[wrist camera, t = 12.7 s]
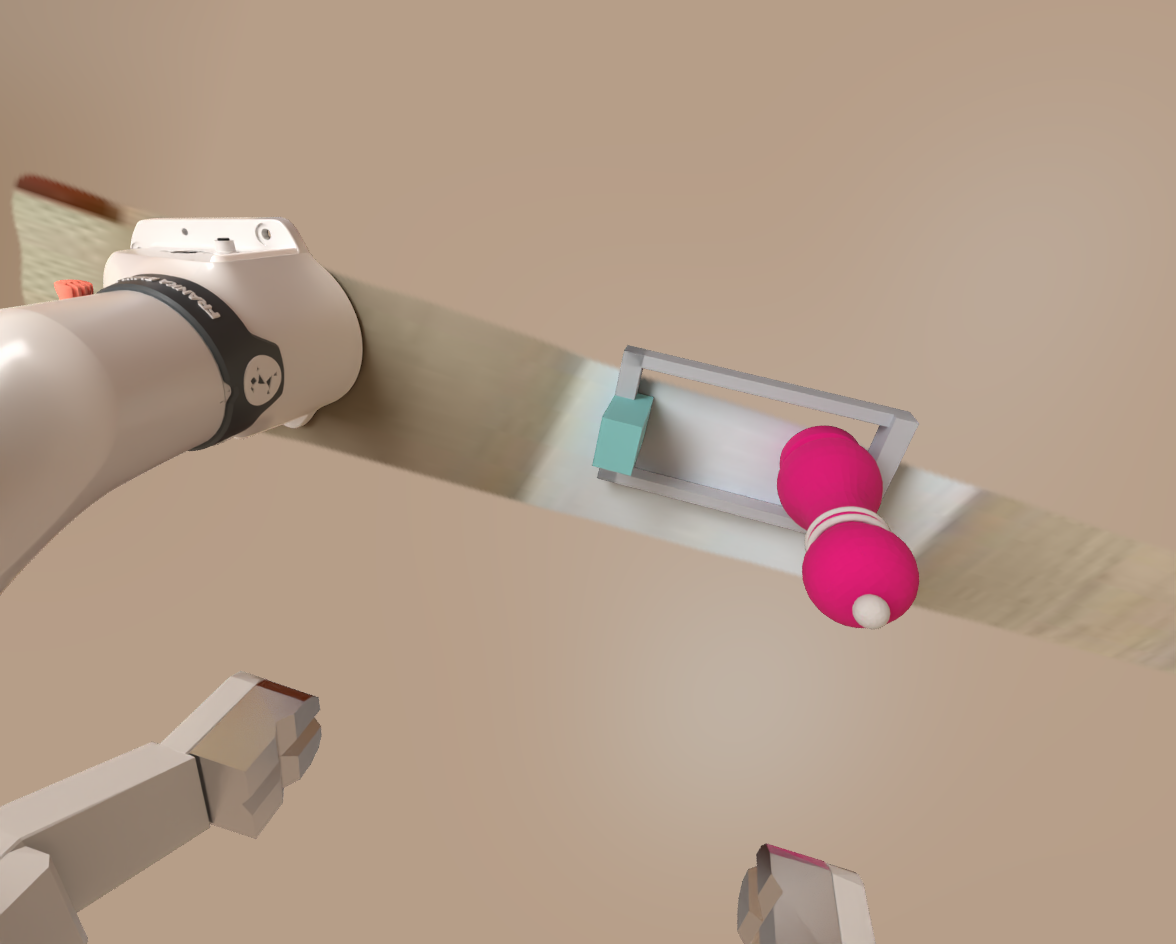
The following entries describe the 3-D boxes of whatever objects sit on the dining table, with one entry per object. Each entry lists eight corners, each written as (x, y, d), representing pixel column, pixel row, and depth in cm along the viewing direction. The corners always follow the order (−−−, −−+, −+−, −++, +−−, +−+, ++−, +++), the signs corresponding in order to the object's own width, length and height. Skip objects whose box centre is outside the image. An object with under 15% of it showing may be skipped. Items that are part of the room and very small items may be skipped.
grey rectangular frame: (601, 469, 51) (583, 507, 45) (627, 345, 46) (612, 368, 40) (851, 535, 49) (868, 584, 43) (909, 411, 44) (939, 447, 37)
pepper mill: (887, 469, 46) (985, 641, 28) (806, 515, 49) (849, 695, 31) (834, 401, 44) (904, 537, 27) (755, 452, 48) (770, 604, 30)
